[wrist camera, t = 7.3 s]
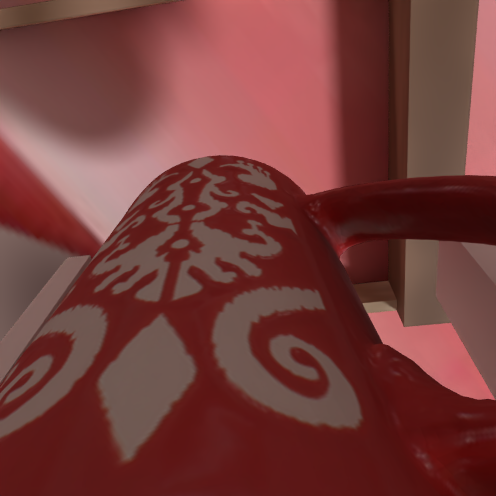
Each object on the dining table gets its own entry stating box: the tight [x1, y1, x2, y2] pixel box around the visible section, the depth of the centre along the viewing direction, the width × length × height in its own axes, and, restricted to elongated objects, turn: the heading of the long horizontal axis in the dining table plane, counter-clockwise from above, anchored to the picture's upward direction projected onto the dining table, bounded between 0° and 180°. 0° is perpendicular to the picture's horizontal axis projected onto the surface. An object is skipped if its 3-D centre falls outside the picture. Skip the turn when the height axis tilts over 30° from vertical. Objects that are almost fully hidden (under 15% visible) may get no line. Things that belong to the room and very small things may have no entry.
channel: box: [0, 0, 479, 327], centre depth 23 cm, size 21×17×4 cm
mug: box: [0, 155, 496, 496], centre depth 11 cm, size 13×9×14 cm
